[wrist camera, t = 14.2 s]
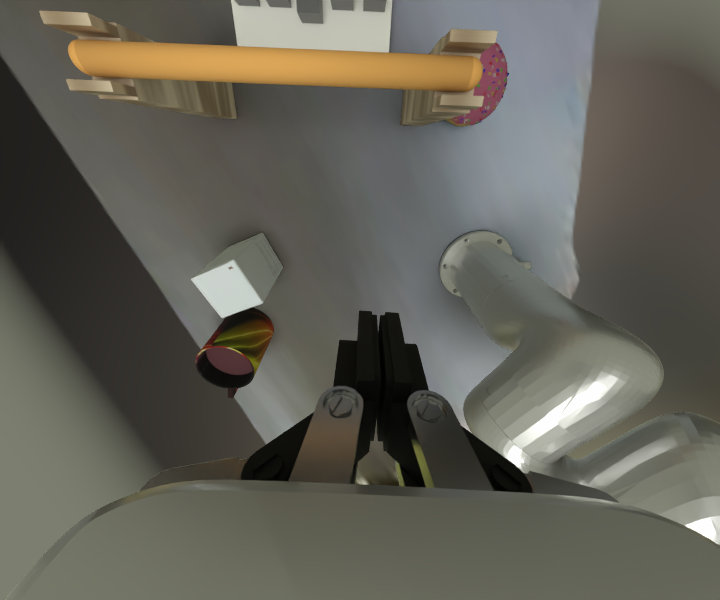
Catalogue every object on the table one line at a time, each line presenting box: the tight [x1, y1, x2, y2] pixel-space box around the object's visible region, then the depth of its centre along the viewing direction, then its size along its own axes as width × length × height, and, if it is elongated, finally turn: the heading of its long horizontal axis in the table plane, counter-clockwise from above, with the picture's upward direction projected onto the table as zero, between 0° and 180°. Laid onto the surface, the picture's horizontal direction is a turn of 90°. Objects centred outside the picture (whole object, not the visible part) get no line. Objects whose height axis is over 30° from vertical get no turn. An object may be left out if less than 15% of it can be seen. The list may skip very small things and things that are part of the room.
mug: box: [195, 308, 274, 398], centre depth 53 cm, size 10×14×12 cm
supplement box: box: [191, 233, 283, 318], centre depth 44 cm, size 7×7×13 cm
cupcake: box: [445, 42, 509, 126], centre depth 32 cm, size 9×8×12 cm
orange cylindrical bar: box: [68, 39, 483, 92], centre depth 20 cm, size 29×2×2 cm, turn 88°
